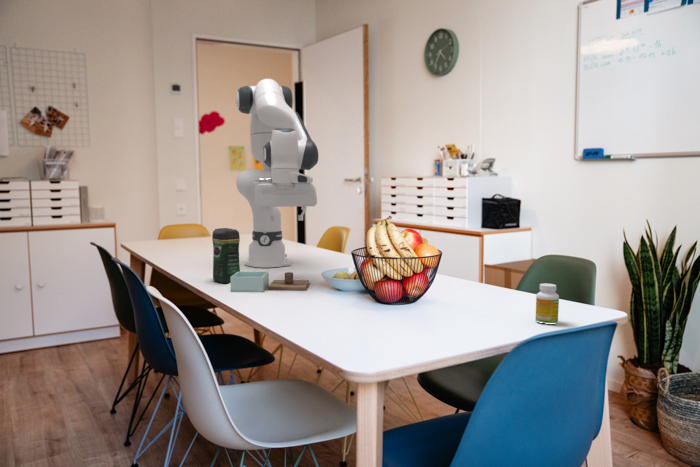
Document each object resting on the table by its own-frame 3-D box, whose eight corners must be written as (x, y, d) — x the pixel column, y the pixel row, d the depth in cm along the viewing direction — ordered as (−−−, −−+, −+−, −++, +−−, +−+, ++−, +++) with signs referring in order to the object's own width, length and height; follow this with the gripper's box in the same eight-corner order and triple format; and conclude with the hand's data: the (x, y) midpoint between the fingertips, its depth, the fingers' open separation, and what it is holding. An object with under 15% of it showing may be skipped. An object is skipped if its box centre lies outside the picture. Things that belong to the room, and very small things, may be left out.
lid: (273, 282, 194) (273, 269, 194) (309, 283, 194) (309, 270, 193) (267, 290, 182) (267, 276, 182) (305, 290, 182) (305, 276, 181)
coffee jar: (244, 282, 198) (243, 228, 196) (223, 284, 192) (222, 229, 190) (229, 278, 205) (228, 226, 203) (209, 280, 199) (208, 227, 197)
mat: (272, 283, 195) (272, 282, 194) (310, 284, 194) (310, 283, 194) (265, 291, 182) (265, 290, 182) (306, 292, 181) (306, 290, 181)
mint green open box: (237, 286, 189) (237, 271, 189) (268, 286, 189) (268, 271, 189) (230, 292, 179) (230, 277, 179) (263, 293, 179) (262, 277, 178)
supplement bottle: (555, 326, 141) (556, 287, 140) (533, 323, 144) (534, 285, 143) (559, 321, 146) (561, 284, 145) (538, 318, 149) (539, 282, 148)
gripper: (251, 178, 182) (252, 221, 183) (315, 177, 182) (316, 221, 183) (255, 178, 189) (256, 220, 190) (317, 177, 188) (317, 219, 189)
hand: (286, 220), depth 186 cm, fingers open, 8 cm apart
